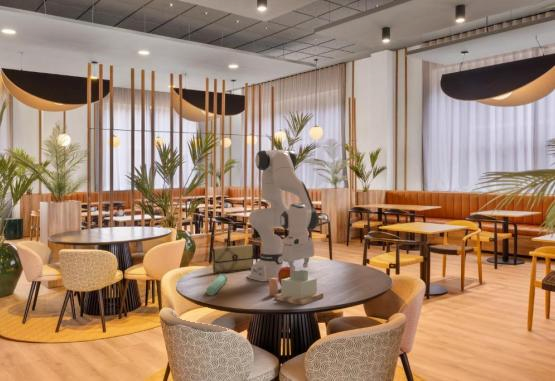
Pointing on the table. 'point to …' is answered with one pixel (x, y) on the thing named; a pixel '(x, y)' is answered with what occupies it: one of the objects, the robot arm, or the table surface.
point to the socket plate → (298, 300)
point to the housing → (299, 284)
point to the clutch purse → (233, 258)
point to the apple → (284, 273)
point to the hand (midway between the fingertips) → (299, 268)
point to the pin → (273, 286)
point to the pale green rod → (217, 284)
